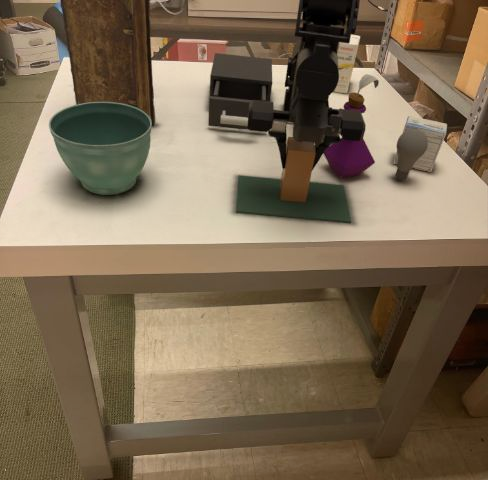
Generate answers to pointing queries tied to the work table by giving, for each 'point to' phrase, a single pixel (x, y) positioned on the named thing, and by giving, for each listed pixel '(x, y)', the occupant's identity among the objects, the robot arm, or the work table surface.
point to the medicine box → (434, 136)
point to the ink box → (346, 62)
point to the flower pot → (103, 144)
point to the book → (110, 51)
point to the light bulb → (409, 151)
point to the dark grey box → (241, 71)
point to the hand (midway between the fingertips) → (296, 168)
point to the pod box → (297, 170)
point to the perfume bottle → (351, 152)
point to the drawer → (233, 103)
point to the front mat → (269, 202)
